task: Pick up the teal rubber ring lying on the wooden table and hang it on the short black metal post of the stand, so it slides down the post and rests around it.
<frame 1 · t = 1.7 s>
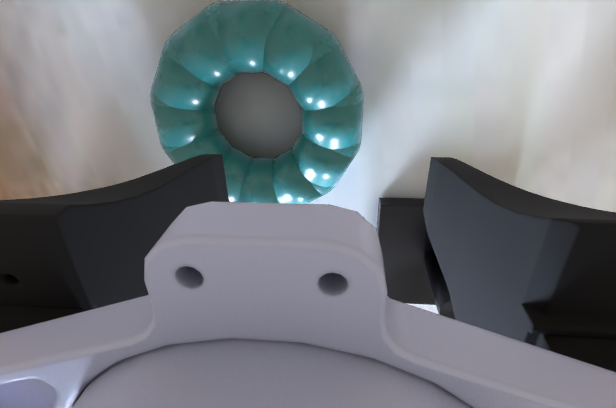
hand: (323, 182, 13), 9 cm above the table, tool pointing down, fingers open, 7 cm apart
hook stand: (434, 250, 25), on the table
ring: (257, 118, 20), point 2 cm above the table
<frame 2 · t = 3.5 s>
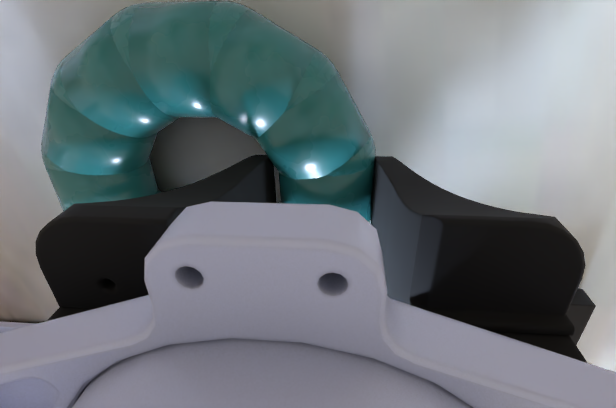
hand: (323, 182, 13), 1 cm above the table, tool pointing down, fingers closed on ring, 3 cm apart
hook stand: (467, 346, 18), on the table
ring: (213, 182, 13), point 2 cm above the table, touching gripper
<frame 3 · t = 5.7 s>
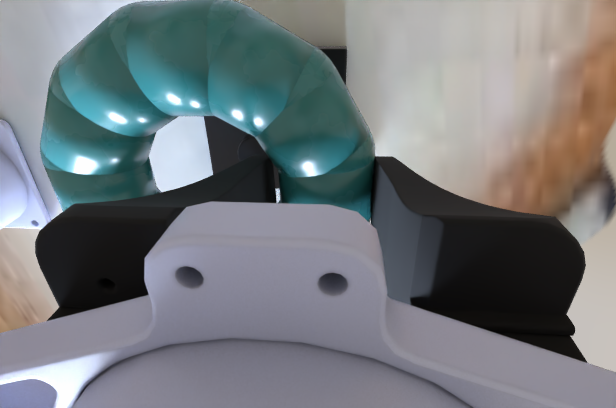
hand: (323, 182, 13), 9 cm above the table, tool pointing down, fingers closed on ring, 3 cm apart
hook stand: (276, 120, 22), on the table
ring: (212, 181, 13), point 10 cm above the table, touching gripper
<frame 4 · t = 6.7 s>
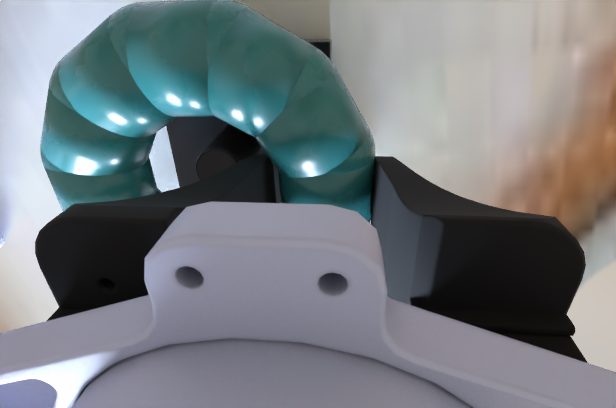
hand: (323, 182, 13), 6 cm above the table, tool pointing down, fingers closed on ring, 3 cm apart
hook stand: (251, 126, 18), on the table
ring: (212, 181, 13), point 6 cm above the table, touching gripper
when the fingers open (3 cm above the table, at t = 7.9 s): ring moves 1 cm, resting on hook stand.
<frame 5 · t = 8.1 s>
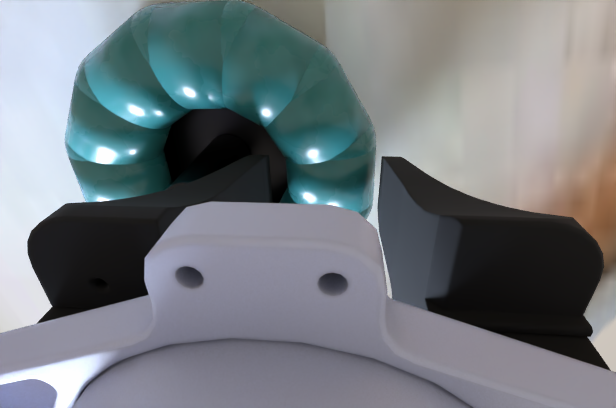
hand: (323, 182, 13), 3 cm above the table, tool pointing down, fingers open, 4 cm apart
hook stand: (236, 146, 16), on the table
ring: (224, 170, 14), point 3 cm above the table, touching hook stand
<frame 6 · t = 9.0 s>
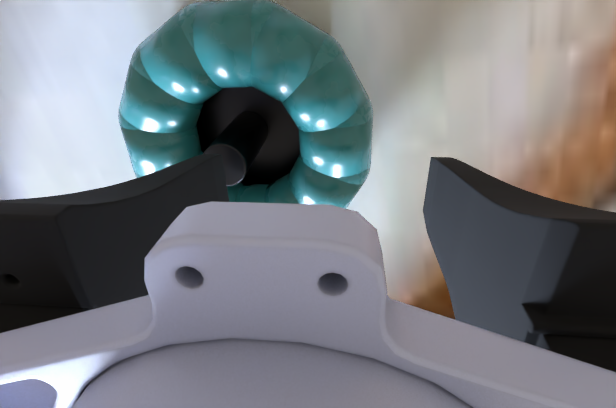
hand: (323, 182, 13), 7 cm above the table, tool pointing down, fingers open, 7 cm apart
hook stand: (254, 123, 19), on the table
ring: (247, 140, 17), point 3 cm above the table, touching hook stand
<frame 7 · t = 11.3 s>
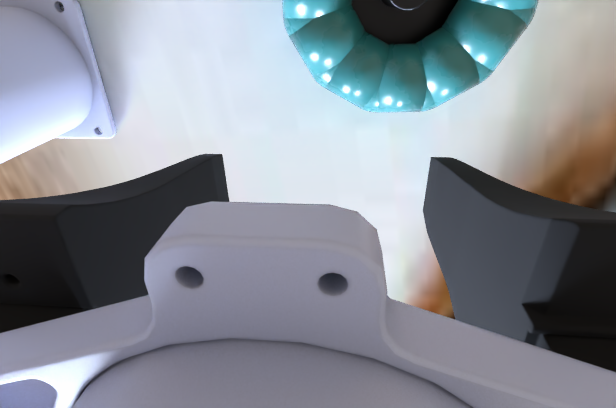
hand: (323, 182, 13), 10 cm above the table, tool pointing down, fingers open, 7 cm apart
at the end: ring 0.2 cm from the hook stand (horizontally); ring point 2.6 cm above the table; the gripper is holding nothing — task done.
